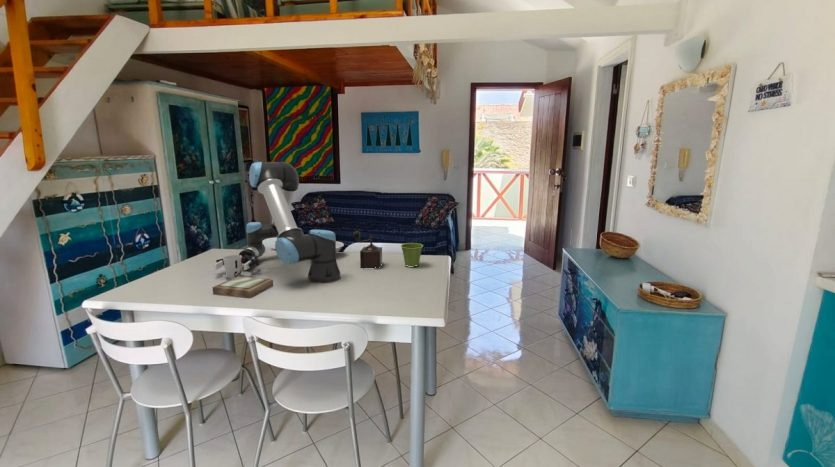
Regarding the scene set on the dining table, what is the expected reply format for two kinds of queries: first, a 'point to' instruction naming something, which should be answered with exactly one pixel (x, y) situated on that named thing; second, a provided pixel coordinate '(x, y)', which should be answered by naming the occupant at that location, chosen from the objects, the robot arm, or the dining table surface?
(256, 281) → the wooden tray
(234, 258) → the cup
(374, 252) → the manual coffee grinder
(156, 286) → the dining table surface
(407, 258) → the plant pot
